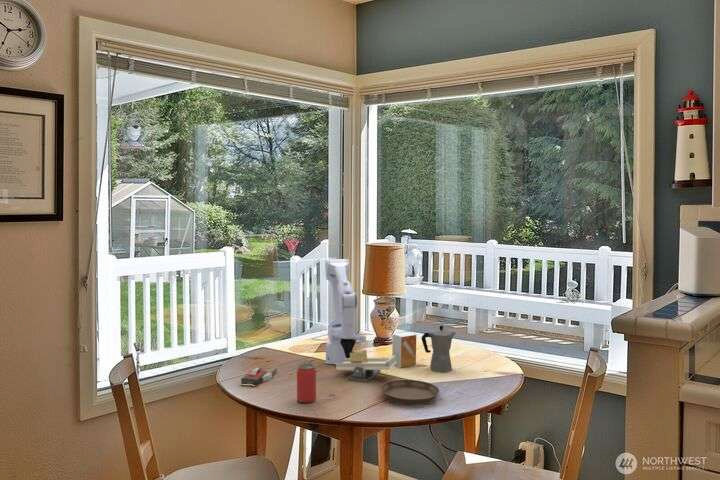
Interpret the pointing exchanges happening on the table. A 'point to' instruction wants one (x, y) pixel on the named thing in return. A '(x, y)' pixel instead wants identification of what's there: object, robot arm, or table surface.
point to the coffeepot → (439, 349)
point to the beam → (368, 364)
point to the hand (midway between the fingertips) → (348, 357)
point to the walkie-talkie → (257, 376)
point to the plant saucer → (409, 391)
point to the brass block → (358, 356)
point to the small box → (404, 349)
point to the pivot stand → (362, 374)
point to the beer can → (306, 383)
